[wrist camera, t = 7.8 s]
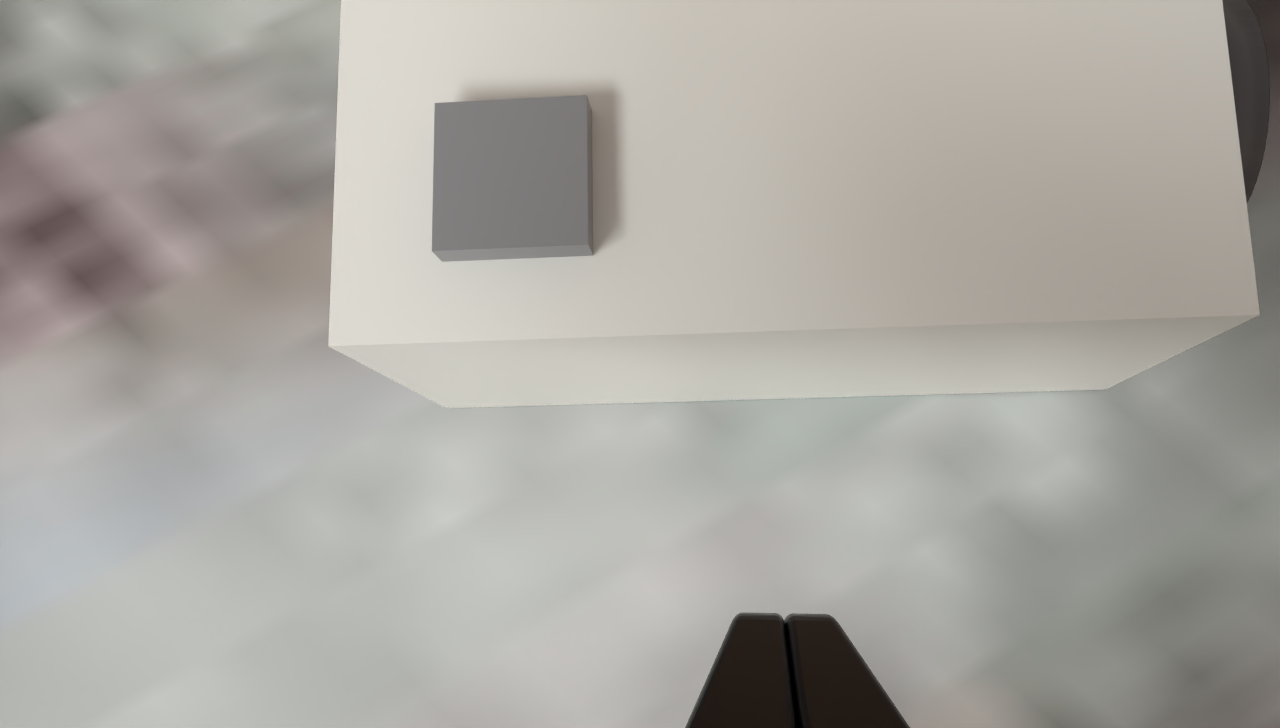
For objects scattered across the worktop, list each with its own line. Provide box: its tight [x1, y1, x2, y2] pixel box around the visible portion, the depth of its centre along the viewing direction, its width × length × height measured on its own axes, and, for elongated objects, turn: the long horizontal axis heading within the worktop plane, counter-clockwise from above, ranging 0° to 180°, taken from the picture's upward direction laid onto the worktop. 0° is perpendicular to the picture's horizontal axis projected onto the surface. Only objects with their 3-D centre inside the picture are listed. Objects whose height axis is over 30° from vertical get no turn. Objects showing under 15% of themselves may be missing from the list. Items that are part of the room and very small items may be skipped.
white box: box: [329, 0, 1270, 408], centre depth 21 cm, size 9×15×8 cm, turn 91°
